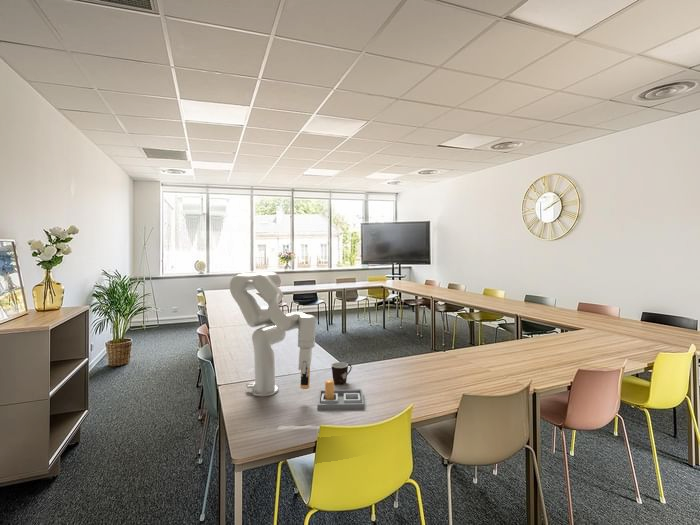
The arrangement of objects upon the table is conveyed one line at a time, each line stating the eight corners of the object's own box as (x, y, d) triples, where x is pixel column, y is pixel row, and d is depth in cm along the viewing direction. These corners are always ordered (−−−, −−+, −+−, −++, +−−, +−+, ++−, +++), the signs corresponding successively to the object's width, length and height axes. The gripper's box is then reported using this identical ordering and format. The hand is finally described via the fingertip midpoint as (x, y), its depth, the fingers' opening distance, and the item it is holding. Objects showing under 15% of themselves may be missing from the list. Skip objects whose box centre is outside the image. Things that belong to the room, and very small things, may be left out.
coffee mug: (333, 388, 169) (333, 368, 169) (329, 381, 177) (329, 363, 177) (355, 385, 172) (355, 366, 172) (351, 379, 180) (351, 360, 180)
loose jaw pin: (299, 389, 151) (300, 369, 150) (300, 385, 155) (301, 366, 154) (308, 389, 151) (309, 369, 150) (309, 385, 155) (310, 366, 154)
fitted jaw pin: (325, 403, 150) (324, 383, 150) (325, 399, 154) (325, 379, 154) (334, 403, 151) (333, 383, 150) (334, 399, 155) (334, 379, 154)
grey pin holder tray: (317, 411, 145) (317, 404, 145) (319, 396, 160) (319, 390, 160) (364, 410, 146) (364, 404, 145) (361, 395, 160) (361, 389, 160)
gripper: (300, 336, 159) (298, 374, 161) (295, 348, 143) (294, 390, 144) (316, 337, 160) (314, 375, 161) (313, 349, 143) (311, 391, 144)
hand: (304, 382), depth 153 cm, fingers closed on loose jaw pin, 4 cm apart
